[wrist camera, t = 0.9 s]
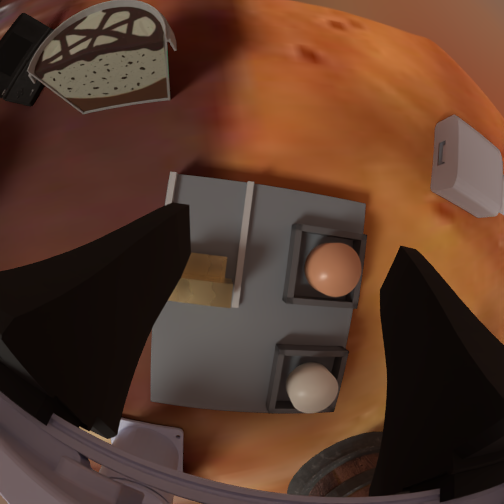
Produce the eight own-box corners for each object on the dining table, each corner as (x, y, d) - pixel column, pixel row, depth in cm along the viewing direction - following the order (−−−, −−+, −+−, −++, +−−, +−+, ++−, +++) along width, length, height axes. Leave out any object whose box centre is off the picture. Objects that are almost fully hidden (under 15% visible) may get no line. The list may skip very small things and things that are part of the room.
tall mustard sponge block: (228, 297, 23) (230, 308, 19) (166, 289, 23) (156, 298, 19) (233, 257, 23) (236, 260, 19) (170, 249, 23) (160, 250, 19)
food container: (187, 51, 24) (180, -16, 14) (185, 98, 25) (173, 34, 15) (79, 70, 23) (42, 19, 13) (70, 117, 23) (21, 73, 13)
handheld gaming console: (38, 100, 21) (-27, 65, 13) (23, 118, 25) (-32, 90, 16) (87, 28, 23) (34, -7, 14) (64, 51, 27) (17, 22, 18)
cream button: (324, 401, 23) (332, 412, 21) (282, 402, 23) (287, 413, 21) (334, 362, 23) (343, 371, 21) (289, 361, 23) (295, 371, 21)
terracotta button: (346, 294, 23) (357, 298, 21) (301, 290, 23) (308, 294, 21) (353, 246, 23) (364, 246, 21) (307, 239, 23) (315, 239, 21)
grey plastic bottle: (497, 233, 30) (428, 192, 28) (500, 173, 30) (433, 124, 28) (521, 232, 25) (456, 186, 23) (523, 168, 25) (457, 112, 23)
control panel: (323, 402, 27) (335, 419, 23) (154, 391, 25) (147, 409, 21) (356, 206, 27) (373, 201, 23) (173, 178, 25) (166, 168, 21)
